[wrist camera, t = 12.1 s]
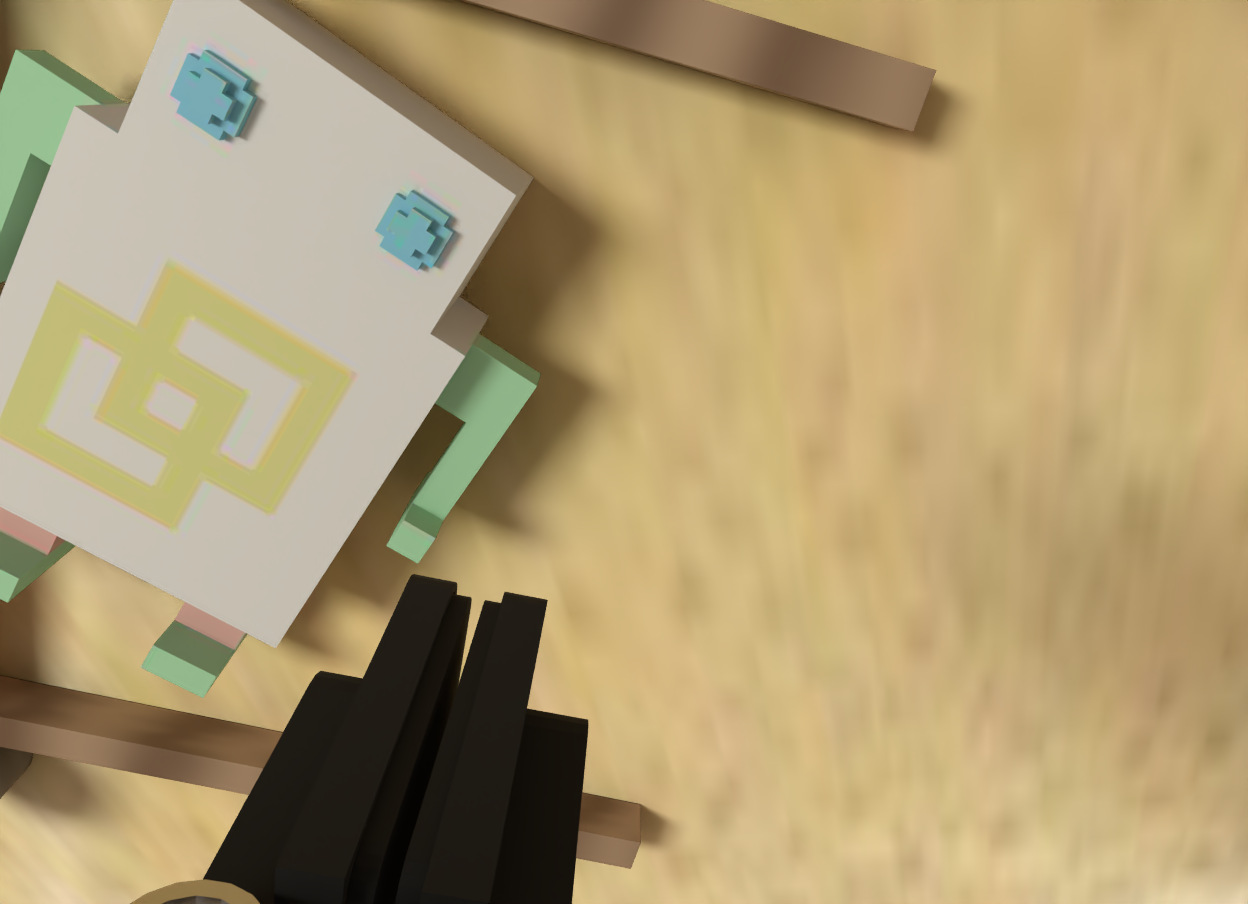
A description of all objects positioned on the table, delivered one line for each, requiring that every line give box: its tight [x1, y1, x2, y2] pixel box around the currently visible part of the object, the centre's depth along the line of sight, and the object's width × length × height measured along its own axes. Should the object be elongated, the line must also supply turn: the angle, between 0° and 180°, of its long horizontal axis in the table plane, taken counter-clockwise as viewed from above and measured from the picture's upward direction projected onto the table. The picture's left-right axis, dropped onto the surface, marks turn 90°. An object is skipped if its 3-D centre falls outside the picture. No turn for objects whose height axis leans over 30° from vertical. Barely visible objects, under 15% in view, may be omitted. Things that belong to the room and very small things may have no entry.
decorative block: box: [0, 0, 541, 698], centre depth 32 cm, size 26×6×20 cm
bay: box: [0, 0, 936, 869], centre depth 34 cm, size 38×46×8 cm
